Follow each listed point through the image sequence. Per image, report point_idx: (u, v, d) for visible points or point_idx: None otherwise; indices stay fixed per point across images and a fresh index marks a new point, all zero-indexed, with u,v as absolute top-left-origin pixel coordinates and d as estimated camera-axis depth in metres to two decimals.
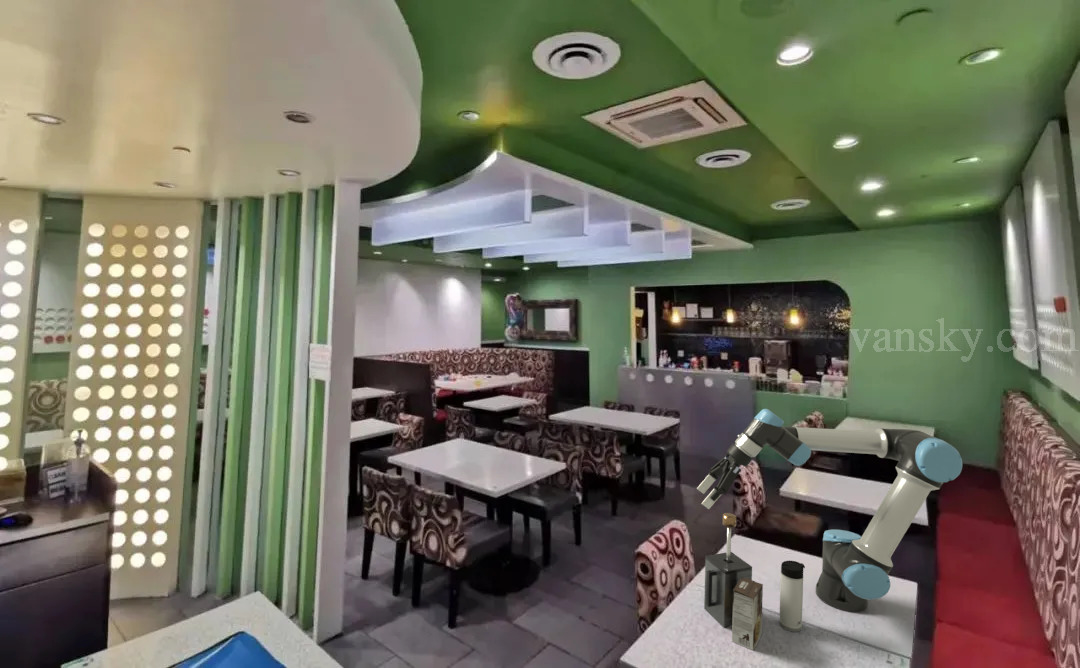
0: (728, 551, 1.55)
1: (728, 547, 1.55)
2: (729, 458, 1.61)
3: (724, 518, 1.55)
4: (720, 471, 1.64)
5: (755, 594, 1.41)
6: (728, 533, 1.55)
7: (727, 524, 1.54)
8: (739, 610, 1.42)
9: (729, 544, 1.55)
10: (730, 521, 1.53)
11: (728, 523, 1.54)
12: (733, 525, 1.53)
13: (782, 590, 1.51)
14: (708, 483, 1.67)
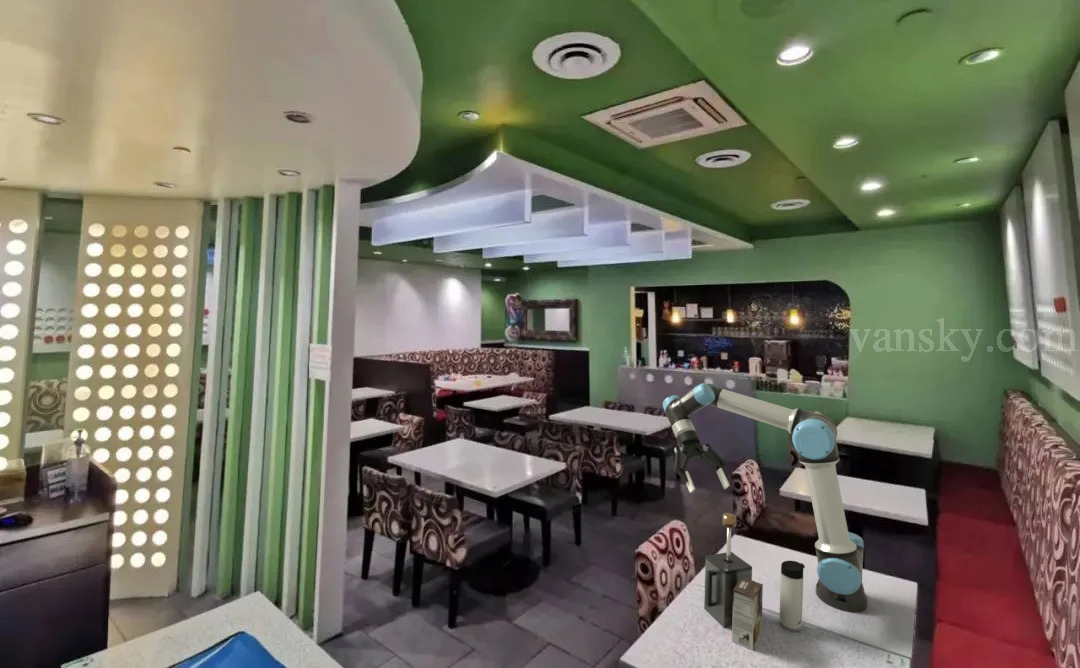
0: (728, 551, 1.55)
1: (728, 547, 1.55)
2: None
3: (724, 518, 1.55)
4: (708, 460, 1.72)
5: (755, 594, 1.41)
6: (728, 533, 1.55)
7: (727, 524, 1.54)
8: (739, 610, 1.42)
9: (729, 544, 1.55)
10: (730, 521, 1.53)
11: (728, 523, 1.54)
12: (733, 525, 1.53)
13: (782, 590, 1.51)
14: (721, 476, 1.68)
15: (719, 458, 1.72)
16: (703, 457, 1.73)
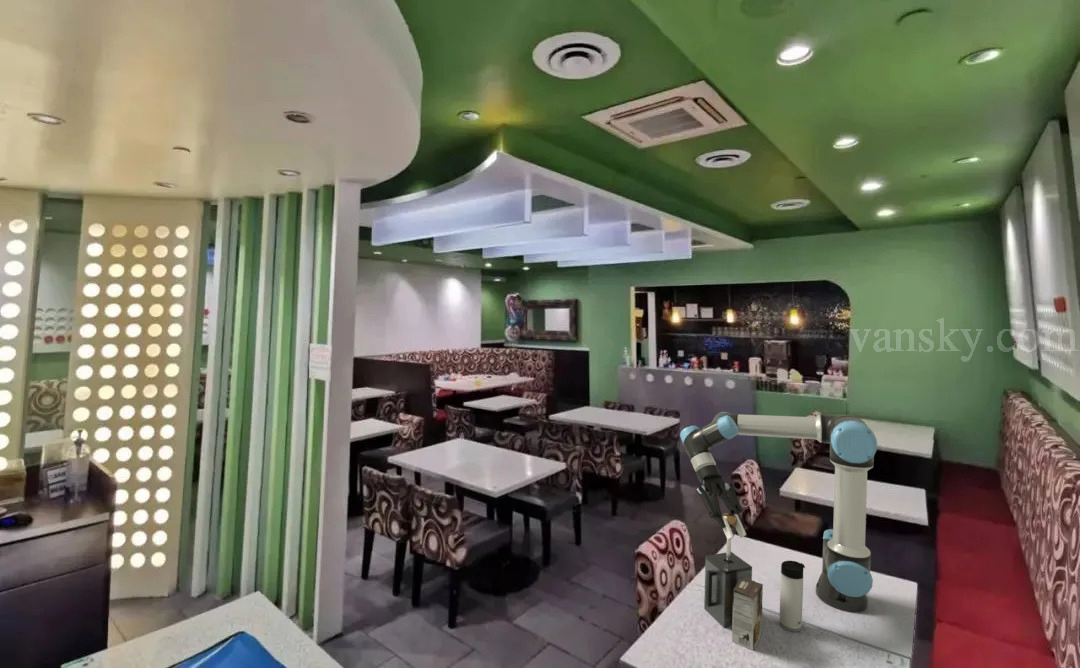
0: (728, 551, 1.55)
1: (728, 547, 1.55)
2: None
3: None
4: (726, 501, 1.60)
5: (755, 594, 1.41)
6: None
7: None
8: (739, 610, 1.42)
9: (729, 544, 1.55)
10: (730, 521, 1.53)
11: (728, 523, 1.54)
12: (733, 525, 1.53)
13: (782, 590, 1.51)
14: (737, 523, 1.55)
15: (737, 501, 1.59)
16: (721, 496, 1.61)
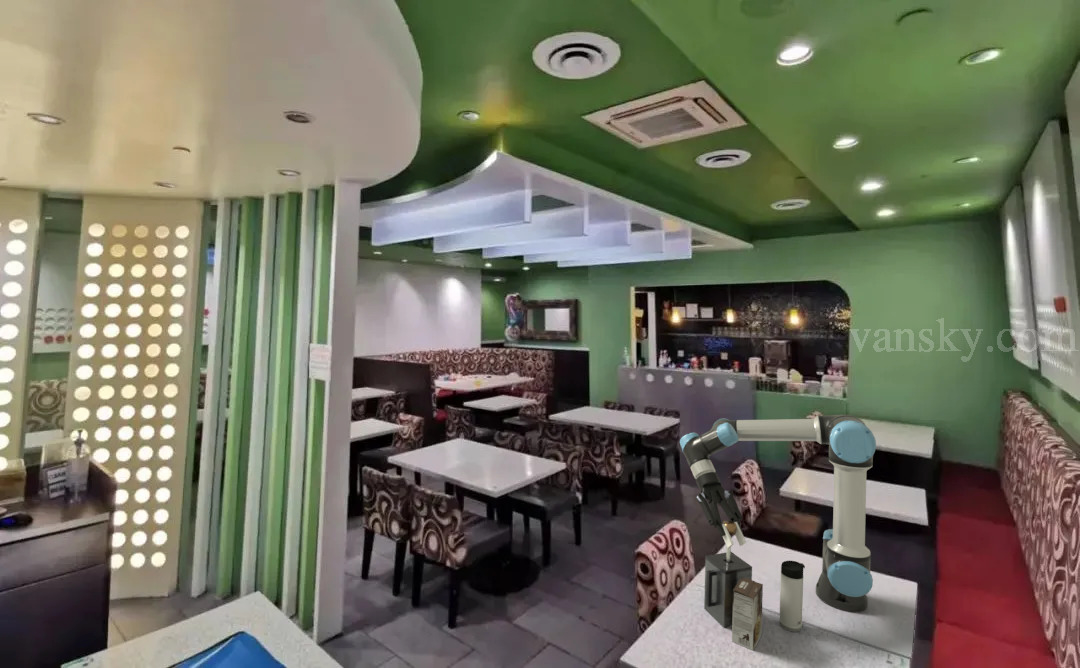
0: (728, 559, 1.55)
1: (728, 555, 1.55)
2: None
3: None
4: (725, 508, 1.60)
5: (755, 594, 1.41)
6: None
7: None
8: (739, 610, 1.42)
9: (729, 552, 1.55)
10: (730, 529, 1.53)
11: (728, 531, 1.54)
12: (733, 533, 1.54)
13: (782, 590, 1.51)
14: (736, 531, 1.55)
15: (736, 509, 1.59)
16: (721, 503, 1.61)
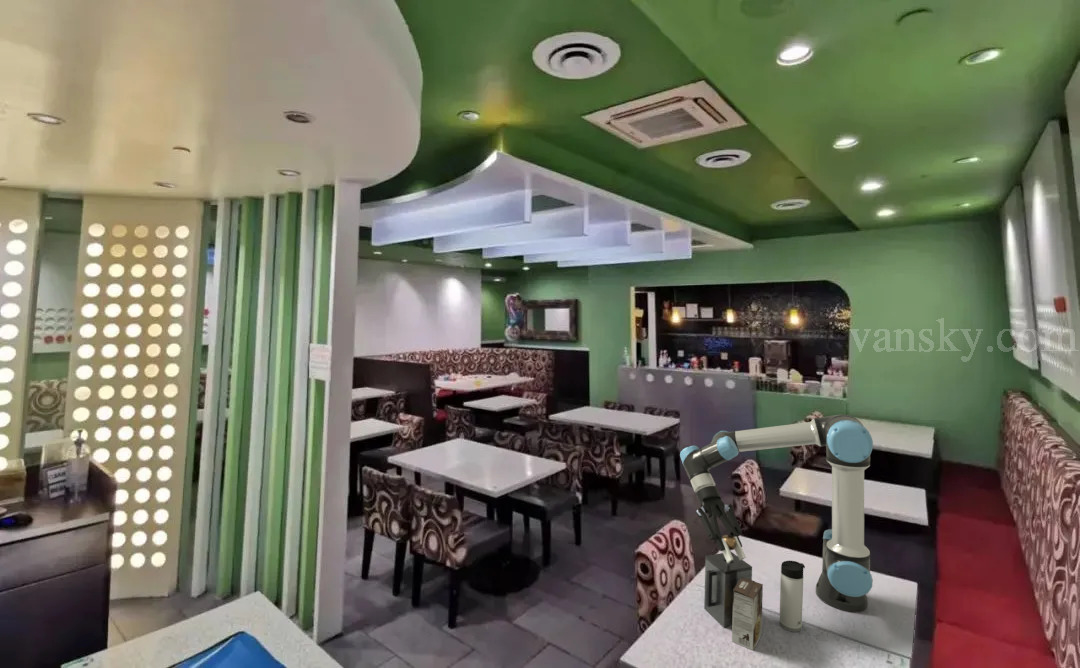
0: None
1: None
2: None
3: None
4: (725, 522, 1.60)
5: (755, 594, 1.41)
6: None
7: None
8: (739, 610, 1.42)
9: None
10: (729, 544, 1.54)
11: None
12: (732, 548, 1.54)
13: (782, 590, 1.51)
14: (736, 545, 1.55)
15: (736, 523, 1.59)
16: (721, 517, 1.61)
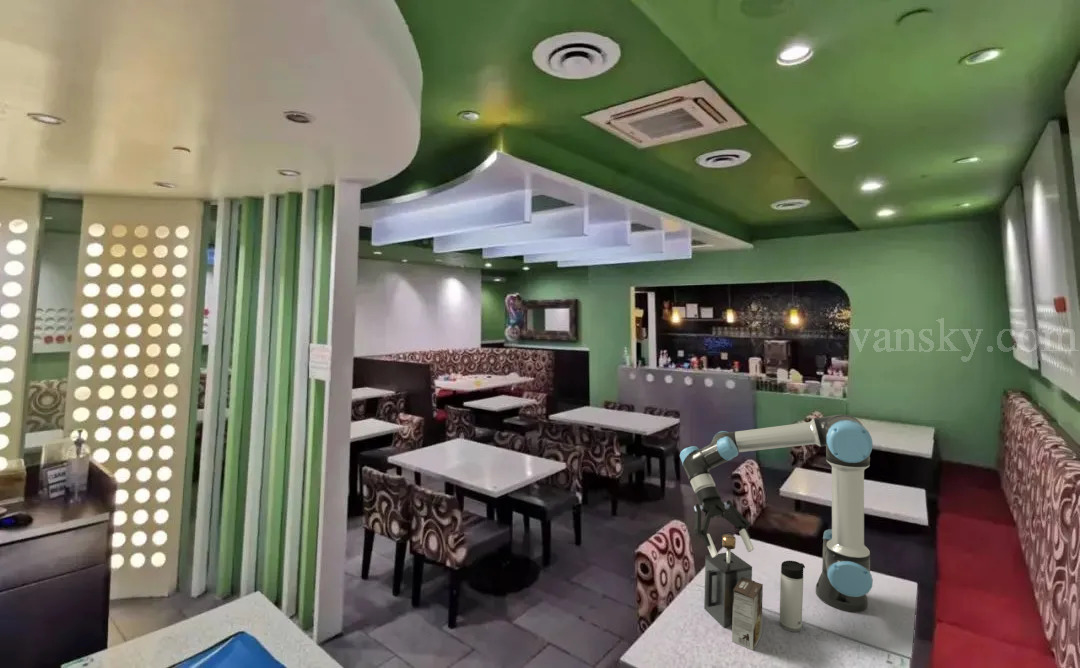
0: None
1: None
2: None
3: (723, 540, 1.55)
4: (730, 519, 1.61)
5: (755, 594, 1.41)
6: (728, 554, 1.55)
7: (726, 546, 1.54)
8: (739, 610, 1.42)
9: None
10: (729, 543, 1.54)
11: (727, 545, 1.54)
12: (732, 547, 1.54)
13: (782, 590, 1.51)
14: (744, 537, 1.58)
15: (742, 517, 1.62)
16: (725, 516, 1.62)
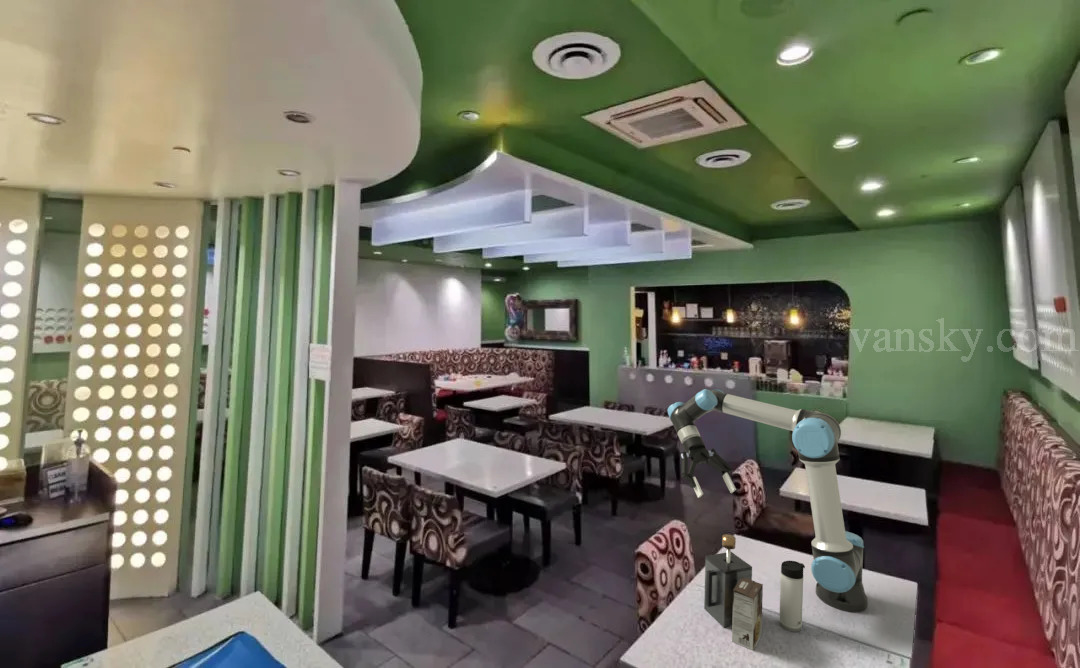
0: None
1: None
2: None
3: (723, 540, 1.55)
4: (714, 465, 1.76)
5: (755, 594, 1.41)
6: (728, 554, 1.55)
7: (726, 546, 1.54)
8: (739, 610, 1.42)
9: None
10: (729, 543, 1.54)
11: (727, 545, 1.54)
12: (732, 547, 1.54)
13: (782, 590, 1.51)
14: (727, 480, 1.73)
15: (724, 463, 1.76)
16: (709, 462, 1.77)
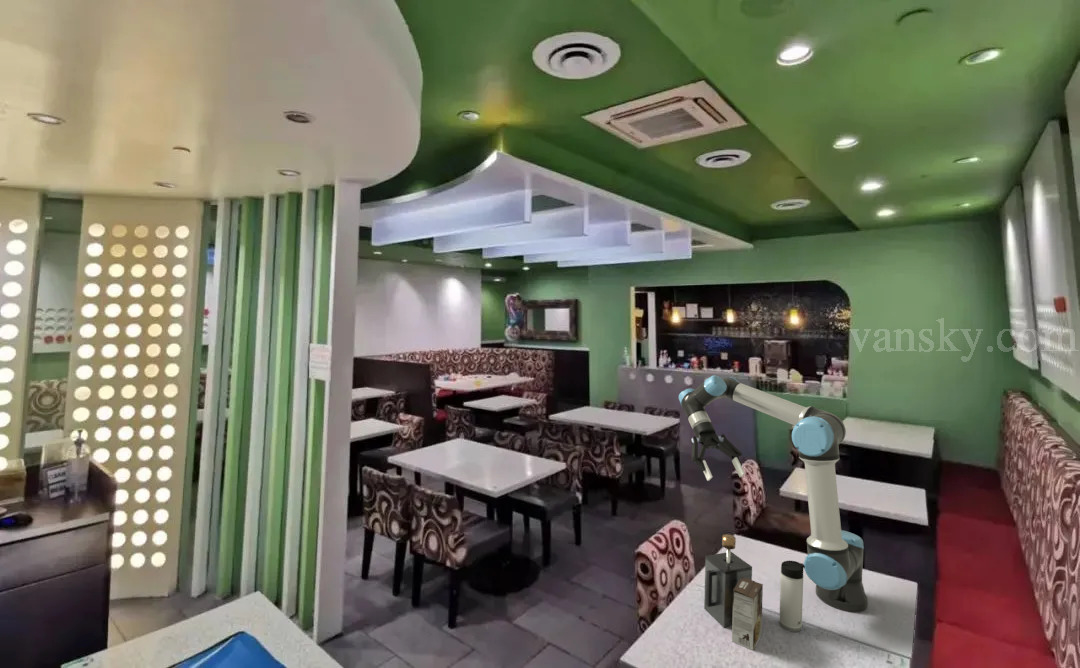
0: None
1: None
2: None
3: (723, 540, 1.55)
4: (724, 450, 1.79)
5: (755, 594, 1.41)
6: (728, 554, 1.55)
7: (726, 546, 1.54)
8: (739, 610, 1.42)
9: None
10: (729, 543, 1.54)
11: (727, 545, 1.54)
12: (732, 547, 1.54)
13: (782, 590, 1.51)
14: (736, 464, 1.76)
15: (734, 448, 1.80)
16: (719, 447, 1.80)
